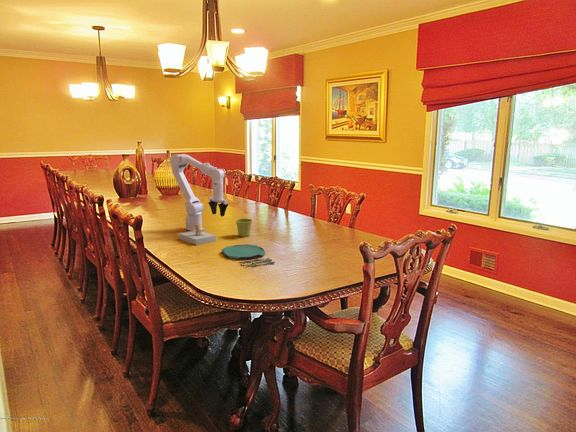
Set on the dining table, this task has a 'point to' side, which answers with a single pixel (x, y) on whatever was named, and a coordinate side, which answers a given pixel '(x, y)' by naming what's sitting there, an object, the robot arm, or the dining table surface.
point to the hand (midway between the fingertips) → (218, 215)
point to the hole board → (197, 237)
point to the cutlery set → (245, 253)
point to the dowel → (198, 229)
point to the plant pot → (244, 227)
